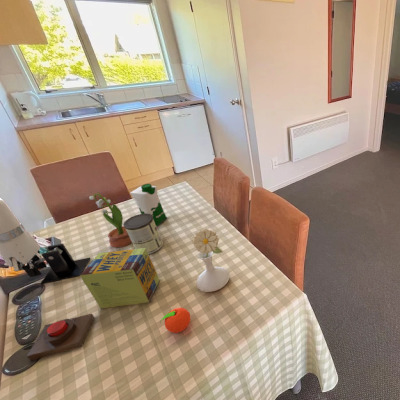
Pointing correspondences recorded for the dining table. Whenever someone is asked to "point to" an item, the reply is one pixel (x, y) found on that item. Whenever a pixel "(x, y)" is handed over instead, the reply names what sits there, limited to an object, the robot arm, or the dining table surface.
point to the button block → (62, 338)
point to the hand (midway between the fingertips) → (38, 271)
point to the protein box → (121, 278)
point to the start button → (57, 328)
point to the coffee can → (143, 232)
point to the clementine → (177, 320)
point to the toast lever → (36, 263)
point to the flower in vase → (209, 262)
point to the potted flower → (114, 223)
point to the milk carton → (149, 202)
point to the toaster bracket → (62, 264)
